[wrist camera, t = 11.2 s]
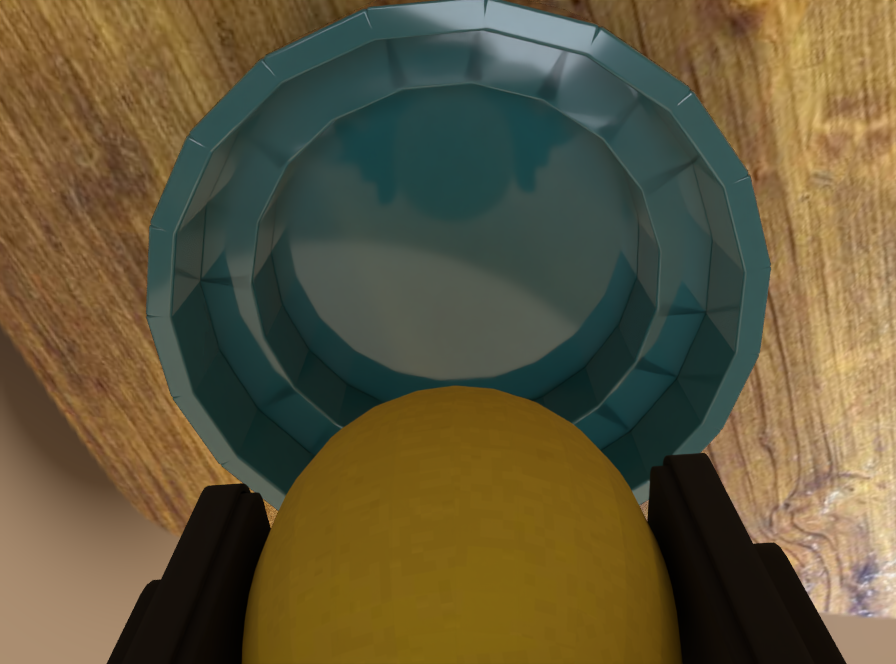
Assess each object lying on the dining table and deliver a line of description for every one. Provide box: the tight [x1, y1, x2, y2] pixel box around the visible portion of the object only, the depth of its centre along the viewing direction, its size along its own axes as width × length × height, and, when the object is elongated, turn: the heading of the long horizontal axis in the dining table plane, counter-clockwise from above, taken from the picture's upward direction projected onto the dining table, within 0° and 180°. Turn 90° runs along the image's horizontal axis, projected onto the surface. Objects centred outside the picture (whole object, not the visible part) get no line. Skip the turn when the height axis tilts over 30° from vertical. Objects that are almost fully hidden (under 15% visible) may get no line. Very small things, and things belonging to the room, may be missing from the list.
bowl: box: [146, 0, 771, 511], centre depth 19 cm, size 14×14×5 cm
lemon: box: [242, 386, 683, 664], centre depth 10 cm, size 6×6×8 cm
